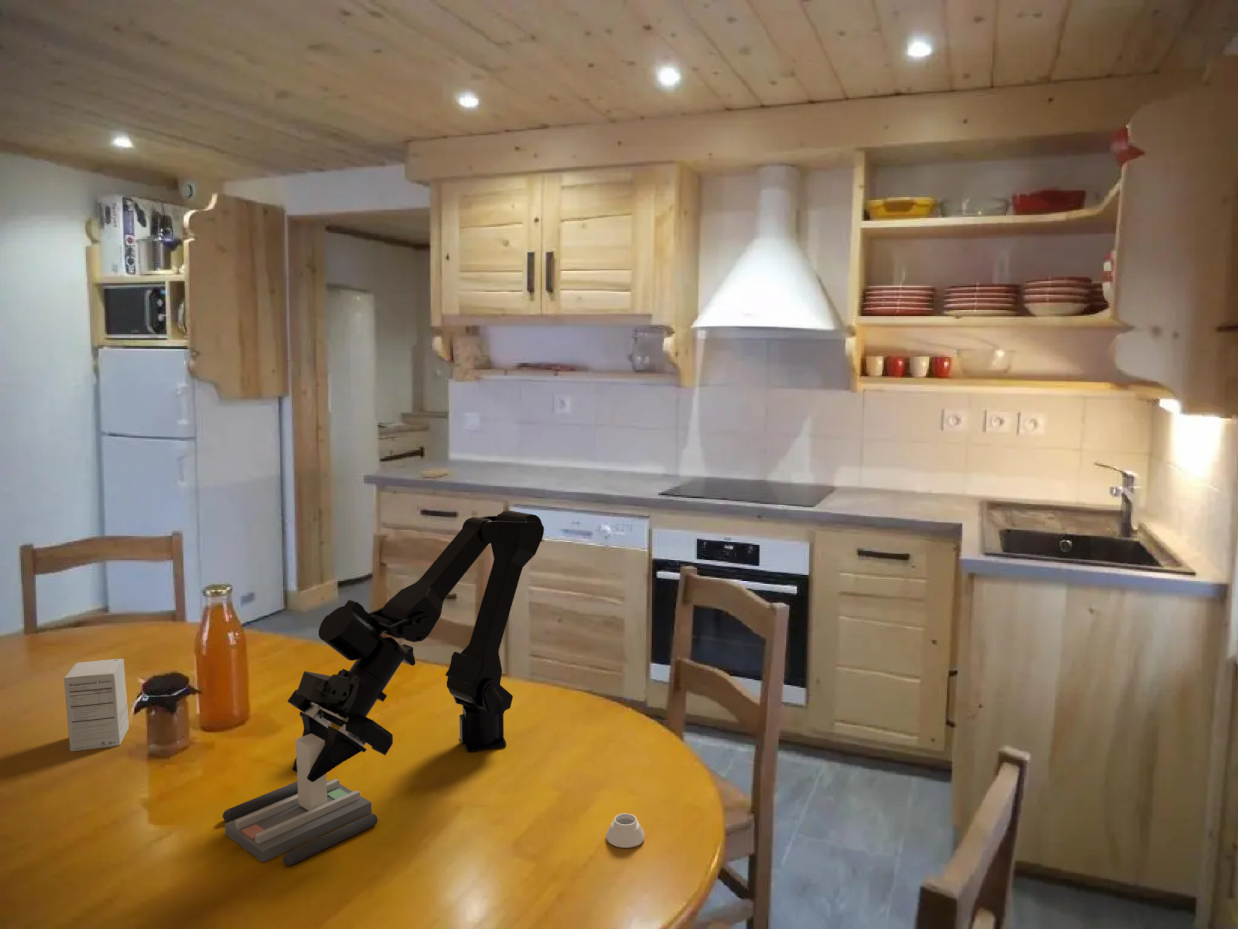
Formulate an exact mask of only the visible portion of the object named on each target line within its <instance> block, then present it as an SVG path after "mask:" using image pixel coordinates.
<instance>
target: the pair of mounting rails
mask: <svg viewBox="0 0 1238 929" xmlns="http://www.w3.org/2000/svg"><path fill="white" fill-rule="evenodd" d="M296 794H298V784H297V781H295V782H292V783H290V784H287V785H285V786H282V787H280V788H277V789H275V790H272V791H270V792H267V793H264V794H262V795H260V796H258V797H255V798H252V799H249V800H247V801H245V802H242V803H240V804H237V805H235V806H233V807H229V808H228V809H225V810H224V811H223V813H222V819H223V820H224V821H226V822H230V821H233V820H235V819H238V818H240V817H243V816H245V815H247V814H250V813H252V812H255V811H257V810H259V809H262V808H264V807H267V806H269V805H272V804H274V803H276V802H279V801H281V800H284V799H286V798H288V797H291V796H293V795H296ZM378 820H379V818H378V815H376V814H375V813H369V814H367V815H364V816H362V817H360V818H358V819H356V820H354V821H351V822H349V823H347V824H345V825H343V826H341V827H338V828H336V829H334V830H332V831H330V832H328V833H326V834H323V835H321V836H319V837H317V838H315V839H313V840H310V841H308V842H306V843H304V844H302V845H300V846H298V847H295V848H293V849H291V850H289V851H287V852H285V854H284V855H283V857H282V862H283V864H284V865H285V866H288V867H289V866H292V865H294V864H296V863H298V862H301V861H303V860H306V859H308V858H309V857H311V856H313V855H315V854H317V853H320V852H322V851H324V850H326V849H328V848H330V847H332V846H334V845H337V844H339V843H340V842H342V841H344V840H347V839H349V838H351V837H353V836H355V835H357V834H359V833H362V832H363V831H365V830H368V829H370V828H371V827H374V826H376V824H378Z"/></svg>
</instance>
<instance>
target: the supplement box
mask: <svg viewBox="0 0 1238 929" xmlns="http://www.w3.org/2000/svg"><path fill="white" fill-rule="evenodd" d="M63 682H64V683H63V684H64V693H65V694H64V695H65V705H66V706H65V707H66V708H65V709H66V717H67V720H66V721H67V729H68V739H69V741H68V742H69V751H70V752H77V751H87V749H88V751H89V750H94V749H95V750H96V749H103V748H113V747H118V746H121V743H122V741H123V740H124V738H125V736H126V734H127V732H128V730H129V728H130V723H129V712H128V711H129V710H128V699H127V683H126V672H125V659H124V658H113V659H103V660H95V661H94V660H93V661H83V662H75V664H74V665H73V667H72V668H71V669H70V670H69V671H68V673H67V674H66V675H65V676H64V678H63Z"/></svg>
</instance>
